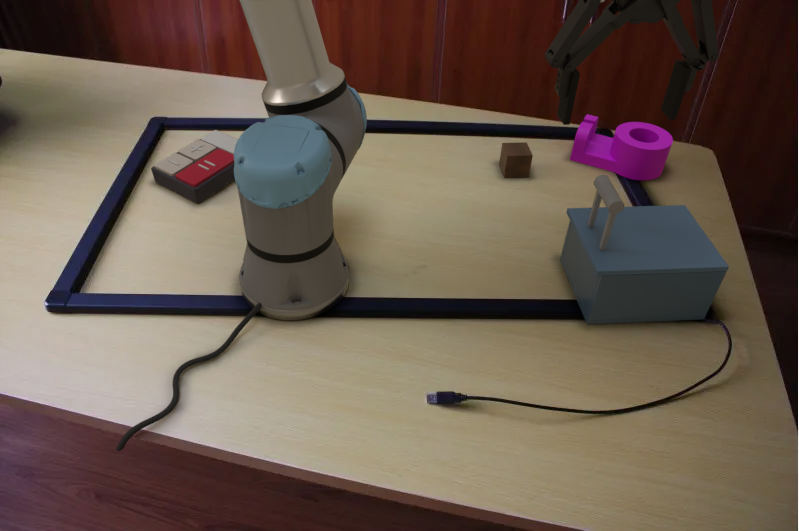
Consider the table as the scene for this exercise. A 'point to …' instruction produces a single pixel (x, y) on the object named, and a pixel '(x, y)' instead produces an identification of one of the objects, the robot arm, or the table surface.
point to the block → (515, 159)
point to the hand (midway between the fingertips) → (615, 117)
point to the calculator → (198, 167)
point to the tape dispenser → (623, 149)
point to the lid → (641, 237)
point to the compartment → (636, 291)
